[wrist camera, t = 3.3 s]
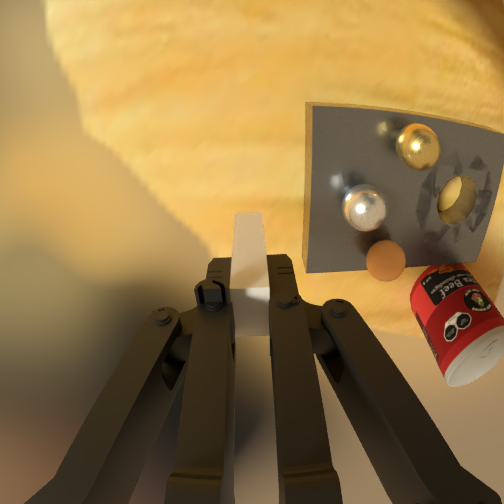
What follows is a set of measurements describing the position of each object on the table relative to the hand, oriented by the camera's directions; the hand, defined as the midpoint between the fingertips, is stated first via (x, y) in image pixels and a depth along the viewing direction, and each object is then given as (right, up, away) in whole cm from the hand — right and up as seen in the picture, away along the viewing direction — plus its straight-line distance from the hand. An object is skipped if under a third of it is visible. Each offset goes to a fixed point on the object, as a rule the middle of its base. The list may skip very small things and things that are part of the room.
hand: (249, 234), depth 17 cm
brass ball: (+11, +6, -1) cm, 12 cm away
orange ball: (+10, -2, +4) cm, 11 cm away
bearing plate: (+13, +4, +5) cm, 15 cm away
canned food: (+21, -5, +11) cm, 24 cm away
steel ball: (+8, +2, +2) cm, 8 cm away
